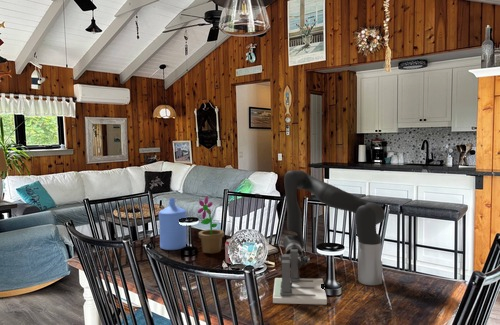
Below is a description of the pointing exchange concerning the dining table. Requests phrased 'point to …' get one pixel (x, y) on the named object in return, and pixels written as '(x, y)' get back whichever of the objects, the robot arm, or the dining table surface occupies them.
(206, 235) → the flowerpot
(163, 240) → the water jug
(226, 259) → the soda can
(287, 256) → the middle lever
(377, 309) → the dining table surface
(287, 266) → the near lever
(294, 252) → the lever
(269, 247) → the washcloth
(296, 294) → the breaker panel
